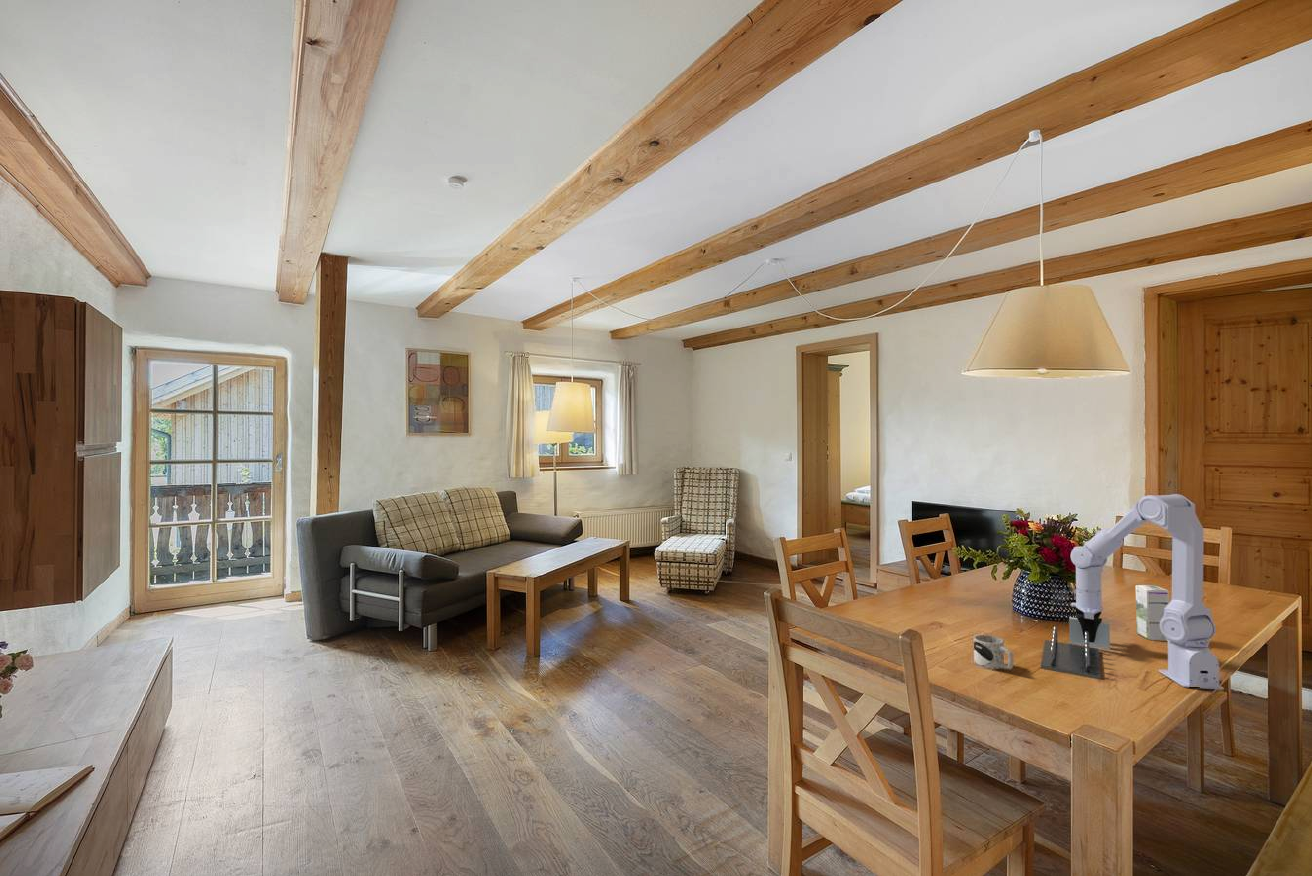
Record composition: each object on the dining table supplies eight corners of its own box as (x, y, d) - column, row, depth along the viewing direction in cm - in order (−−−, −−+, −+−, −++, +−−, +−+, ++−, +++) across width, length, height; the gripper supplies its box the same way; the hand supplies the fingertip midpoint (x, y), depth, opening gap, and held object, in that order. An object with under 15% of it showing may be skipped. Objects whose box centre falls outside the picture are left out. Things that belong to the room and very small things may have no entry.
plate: (1109, 649, 159) (1109, 624, 159) (1069, 643, 165) (1069, 618, 165) (1109, 648, 161) (1109, 622, 161) (1069, 641, 166) (1069, 617, 166)
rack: (1100, 679, 140) (1100, 657, 140) (1040, 668, 147) (1040, 647, 147) (1098, 651, 158) (1098, 632, 158) (1045, 642, 165) (1044, 624, 165)
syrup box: (1171, 641, 165) (1170, 590, 165) (1147, 640, 166) (1146, 589, 166) (1158, 634, 171) (1157, 585, 171) (1135, 633, 172) (1134, 584, 172)
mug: (968, 662, 152) (967, 636, 152) (986, 658, 154) (986, 633, 154) (1003, 676, 142) (1002, 649, 142) (1022, 672, 145) (1022, 645, 145)
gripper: (1071, 582, 171) (1071, 628, 171) (1070, 593, 159) (1071, 643, 159) (1101, 585, 167) (1102, 633, 167) (1103, 597, 155) (1103, 648, 155)
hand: (1089, 638), depth 163 cm, fingers open, 5 cm apart
